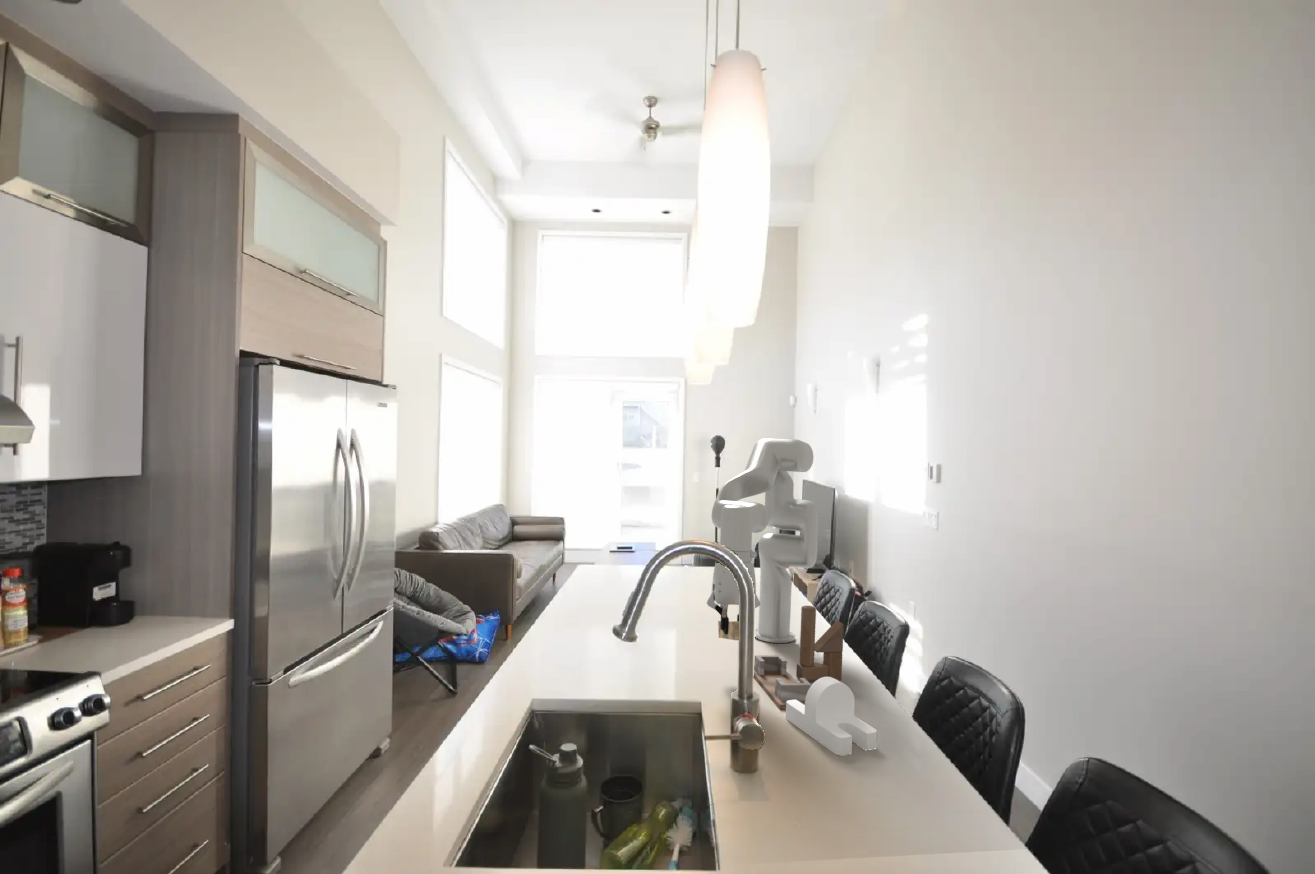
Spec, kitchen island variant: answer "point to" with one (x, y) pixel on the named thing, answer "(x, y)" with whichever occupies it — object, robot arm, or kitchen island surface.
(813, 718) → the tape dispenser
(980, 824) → the kitchen island surface
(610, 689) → the kitchen island surface
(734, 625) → the oak slat
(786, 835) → the kitchen island surface
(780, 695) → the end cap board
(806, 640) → the wooden block
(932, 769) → the kitchen island surface
